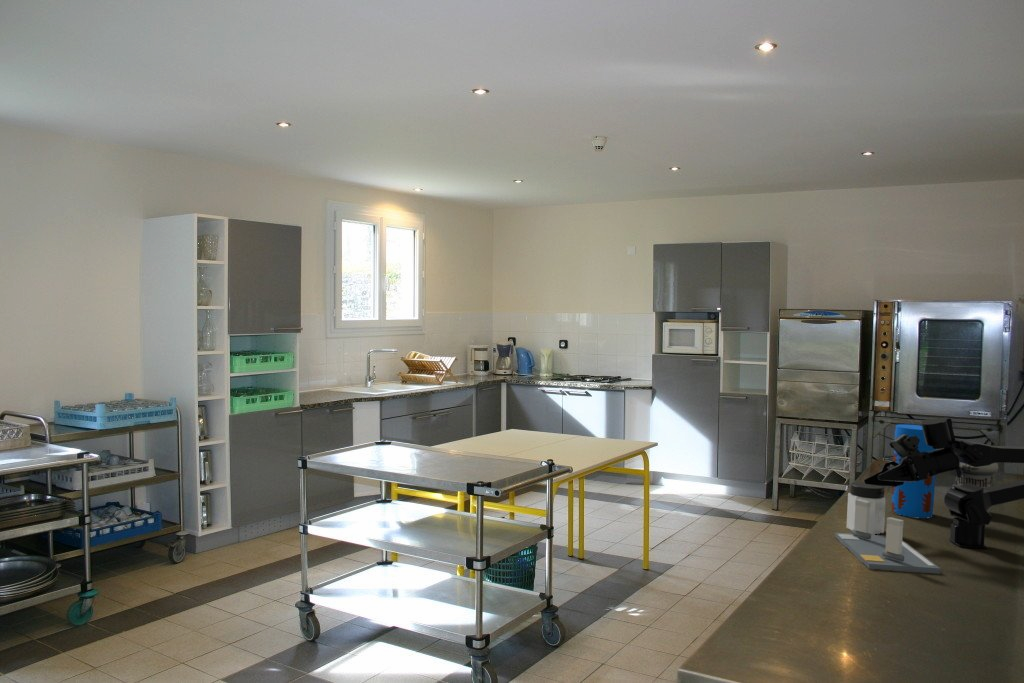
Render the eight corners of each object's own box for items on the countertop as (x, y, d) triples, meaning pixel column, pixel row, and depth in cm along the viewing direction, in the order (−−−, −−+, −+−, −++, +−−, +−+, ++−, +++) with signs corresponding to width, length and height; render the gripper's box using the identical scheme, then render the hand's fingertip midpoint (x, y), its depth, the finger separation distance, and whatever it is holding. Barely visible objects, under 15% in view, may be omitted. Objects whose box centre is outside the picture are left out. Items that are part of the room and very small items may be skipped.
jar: (869, 536, 200) (871, 490, 200) (840, 528, 207) (842, 483, 207) (889, 532, 205) (891, 486, 205) (860, 524, 212) (863, 480, 211)
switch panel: (897, 541, 197) (897, 535, 197) (940, 573, 172) (940, 567, 172) (835, 537, 199) (835, 531, 199) (868, 569, 174) (869, 562, 174)
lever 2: (885, 555, 179) (887, 516, 179) (904, 561, 176) (906, 521, 175) (881, 556, 179) (883, 517, 178) (900, 562, 175) (902, 521, 175)
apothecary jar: (951, 514, 226) (954, 452, 226) (945, 505, 237) (948, 446, 237) (1000, 520, 222) (1003, 456, 221) (992, 510, 233) (995, 450, 232)
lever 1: (854, 534, 196) (856, 498, 196) (871, 538, 193) (873, 502, 192) (851, 535, 196) (853, 499, 195) (867, 539, 192) (869, 503, 192)
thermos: (929, 511, 229) (934, 426, 228) (936, 520, 219) (941, 431, 218) (888, 507, 233) (892, 423, 232) (893, 516, 222) (897, 428, 222)
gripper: (903, 438, 206) (846, 453, 206) (935, 425, 188) (873, 442, 188) (920, 479, 203) (862, 495, 203) (955, 470, 185) (891, 488, 185)
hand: (871, 479), depth 195 cm, fingers open, 9 cm apart
